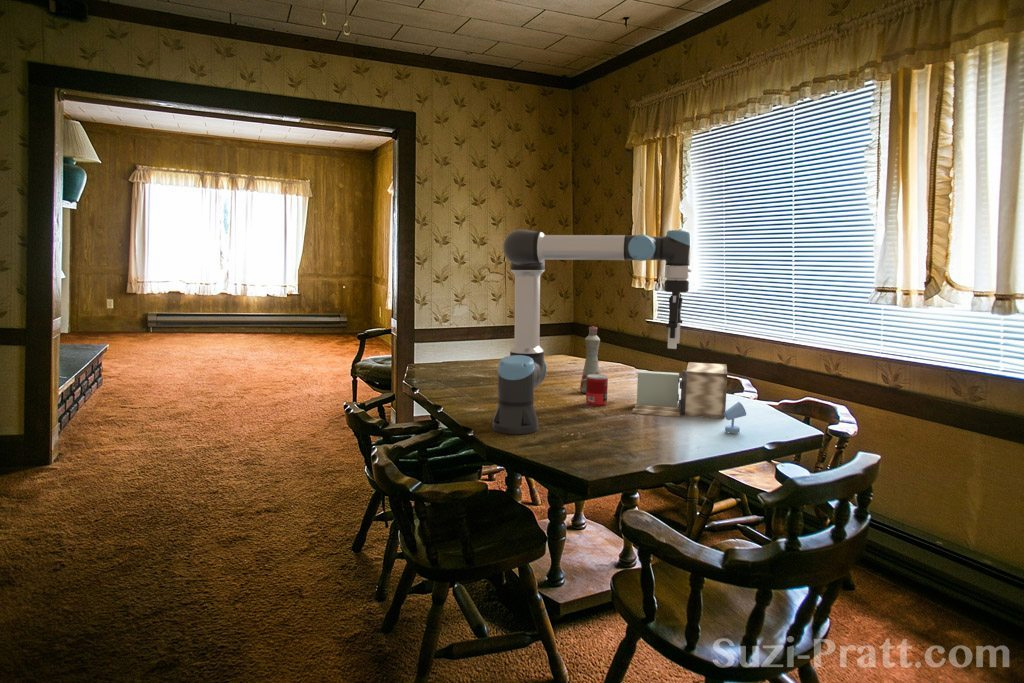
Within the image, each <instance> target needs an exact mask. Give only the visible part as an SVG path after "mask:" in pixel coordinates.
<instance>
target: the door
mask: <svg viewBox="0 0 1024 683" xmlns="http://www.w3.org/2000/svg"><path fill="white" fill-rule="evenodd" d="M680 379H681V375H680V372H667V371H666V372H665V371H649V370H638V371H637V383H636V384H637V385H636V386H637V387H636V388H637V389H636V405H645V406H658V407H671V408H679V400H680V394H679V389H680V381H681V380H680Z"/></svg>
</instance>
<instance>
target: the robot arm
mask: <svg viewBox="0 0 1024 683" xmlns="http://www.w3.org/2000/svg"><path fill="white" fill-rule="evenodd" d="M691 244H692V234H691V232H690V231H689V230H685V229H684V230H683V229H682V230H681V229H674V230H671V229H669V230H667V232H666V235H665V236H650V235H647V234H637V235H636V234H634V235H633V234H632V235H631V234H628V235H625V234H623V235H622V234H616V235H615V234H612V235H611V234H607V235H603V234H595V235H594V234H576V235H575V234H569V235H568V234H563V235H562V234H557V235H556V234H545V233H544V232H542V231H535V230H531V229H524V228H523V229H522V228H520V229H515V230H512V231H511V232H510V233H508V234H507V236H506V237H505V239H504V242H503V245H502V246H503V247H502V248H503V253H504V256H505V258H506V260H508V261H509V262H510V272H511V273H513V275H514V345H513V347H511V349H509V356H504V357H502V358H501V359H499V361H498V367H497V407H496V410H495V413H494V416H493V419H492V421H491V422H492V423H491V425H492V430H493V431H495V432H496V433H497V432H498V433H501V434H508V435H527V434H531V433H535V432H537V431H538V430H539V418H538V415H537V413H536V410H535V406H534V399H535V397H534V394H535V393H534V392H535V391H534V390H535V388H537V387H538V386H540V385H541V384H542V383H543V381H544V379H545V378H546V375H547V371H548V370H547V363H546V361H545V360H544V359H545V351H544V349H543V348H542V347H541V346H540V344H541V343H540V341H541V340H540V335H541V334H540V332H541V331H540V329H541V327H540V325H541V323H540V322H541V321H540V320H541V315H540V314H541V309H540V308H541V276H542V274H543V273H544V272H545V270H546V260H557V261H558V260H562V261H563V260H564V261H566V260H571V261H575V260H576V261H577V260H578V261H583V260H585V261H587V260H588V261H589V260H590V261H640V262H642V261H643V262H645V261H665V265H664V279H665V280H664V284H663V285H664V288H663V289H664V292H666V293H671V295H670V297H669V298H668V304H669V305H668V310H669V313H668V324H666V329H667V328H668V330H667V331H668V332H667V349H669V350H670V349H671V350H672V349H673V350H677V346H678V345H677V344H680V339H681V338H680V336H681V324H683V319H682V318H681V310H682V304H683V297H682V293H688V292H689V284H690V282H689V280H687V279H689V278H690V273H691V272H692V269H691V268H690V264H691V263H690V262H691V250H692V245H691Z"/></svg>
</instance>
